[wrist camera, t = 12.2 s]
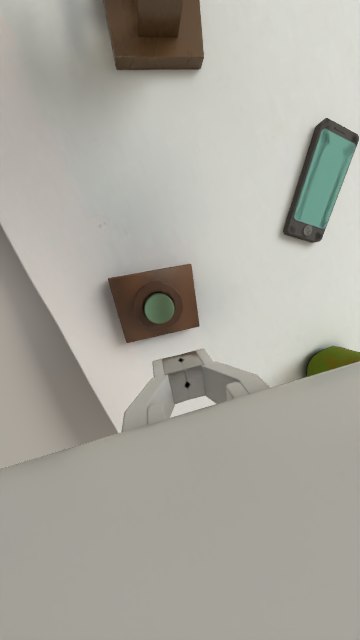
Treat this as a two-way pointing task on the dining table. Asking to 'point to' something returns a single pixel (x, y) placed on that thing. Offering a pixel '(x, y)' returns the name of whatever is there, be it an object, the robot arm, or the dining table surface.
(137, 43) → the switch bracket
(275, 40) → the dining table surface
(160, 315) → the light button
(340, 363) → the apple
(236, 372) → the robot arm
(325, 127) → the smartphone
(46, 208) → the dining table surface
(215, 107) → the dining table surface
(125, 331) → the button block
